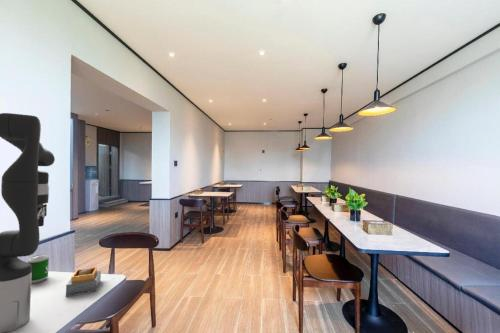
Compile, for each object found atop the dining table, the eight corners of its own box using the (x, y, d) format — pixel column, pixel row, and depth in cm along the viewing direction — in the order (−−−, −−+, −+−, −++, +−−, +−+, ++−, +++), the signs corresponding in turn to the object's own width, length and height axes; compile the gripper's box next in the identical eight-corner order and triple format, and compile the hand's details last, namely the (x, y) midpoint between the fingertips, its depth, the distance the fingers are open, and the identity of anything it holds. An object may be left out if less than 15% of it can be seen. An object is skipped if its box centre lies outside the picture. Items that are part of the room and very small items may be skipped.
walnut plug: (89, 289, 103) (89, 271, 103) (77, 291, 101) (78, 273, 101) (91, 284, 107) (91, 268, 107) (79, 286, 105) (80, 269, 105)
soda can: (42, 283, 108) (43, 258, 108) (23, 285, 106) (24, 259, 106) (51, 276, 115) (52, 253, 116) (33, 278, 113) (34, 254, 113)
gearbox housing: (95, 291, 101) (96, 274, 101) (65, 296, 97) (66, 279, 97) (100, 280, 111) (101, 265, 111) (73, 285, 107) (74, 269, 107)
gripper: (41, 194, 99) (40, 231, 98) (53, 192, 112) (52, 224, 111) (19, 195, 96) (17, 232, 95) (34, 192, 109) (33, 225, 108)
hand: (36, 228), depth 103 cm, fingers open, 8 cm apart
